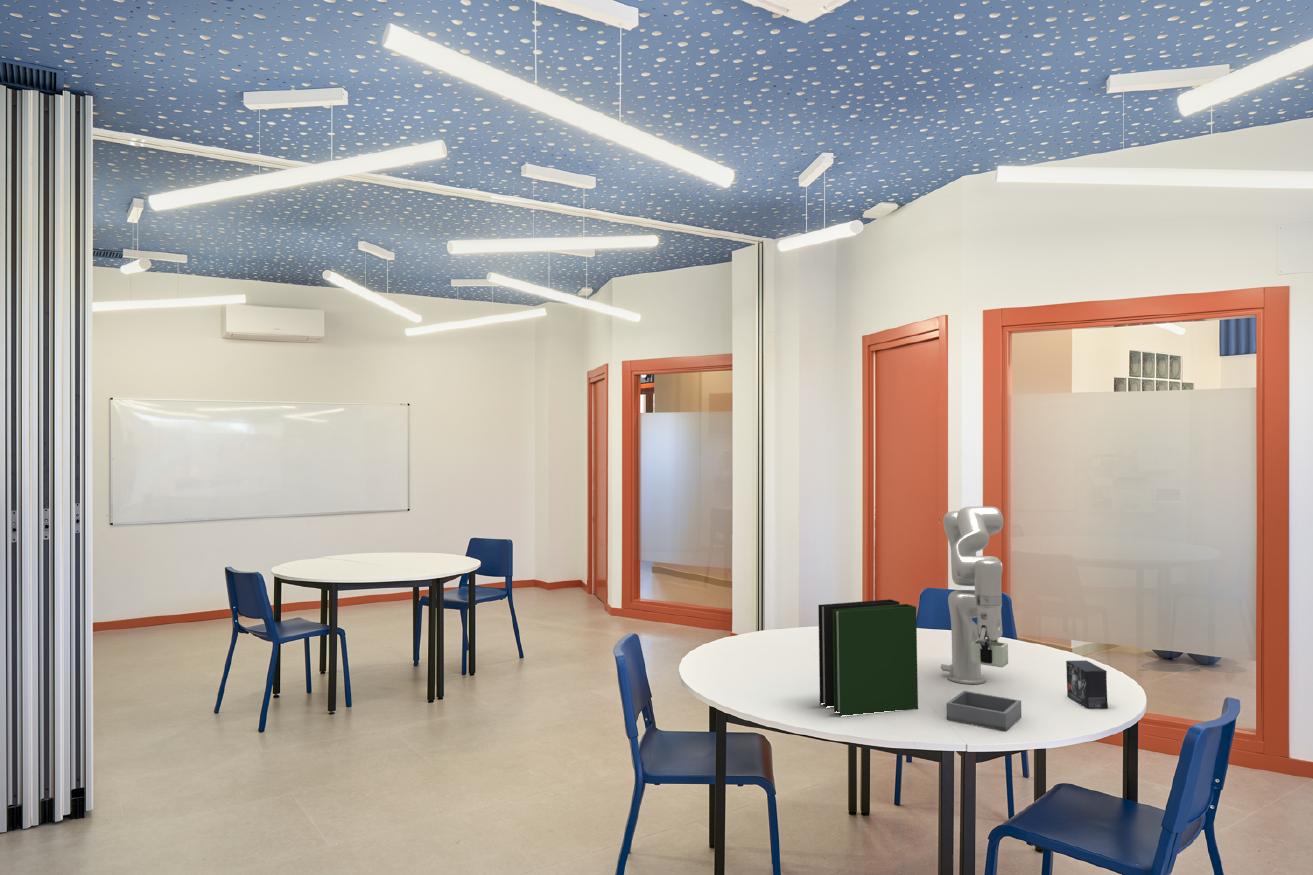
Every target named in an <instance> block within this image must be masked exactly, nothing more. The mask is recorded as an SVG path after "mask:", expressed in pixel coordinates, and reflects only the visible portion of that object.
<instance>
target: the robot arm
mask: <svg viewBox="0 0 1313 875" xmlns="http://www.w3.org/2000/svg"><path fill="white" fill-rule="evenodd" d="M942 520H943V529H944V532H945V535H946V537H947V540H948V542H949V547H950V563H951V564H950V566H951V578H952V582H953V584H955V585H958V586H961V587H974V589H957V590H953V591H951V592H950V593H949V594H948V598H947V603H948V610H949V614H950V615H949V616H950V625H951V627H950V628H951V663H952V664H948V665H947V664H944V663H941V665H940V670H942V671H943V672H948V674H947V679H949V681H952V682H954V683H958V684H963V685H964V684H966V685H980V684H983V683H986V681H987V678H986V676H984V675H982V665H981V664H974V663H972V662H971V643H972V642H974V641H975V640H980V659H981V662H983V663H990V664H991V663H992V650H991V641H992V642H999V640H998V639H1000V638H1001V637H1002V636H1003V622H1002V620H1003V619H1002V607H1003V603H1002V602H1003V600H1002V599H1003V598H1002V597H1003V596H1002V590H1003V589H1002V575H1003V572H1004V571H1003V570H1004V569H1003V563H1002V561H1001V560H1000V559H999V557H997V556H994V555H993V556H992V555H991V556H989V555H977V552H980V551H981V550H983V549H985V548H986V547H987V546H988V545H989V543H990V536H994V535H996V534H998V533H999V532H1001V530H1002V529H1003V528H1004V516H1003V513H1002V512H1001V510H1000V509H999V508H998V507H996V506H965V507H962V508H960V510H955V511H954V510H953V511H948V512H946V513H945V514H944V516H943V519H942ZM974 618H977V621H976V622H975V621H973V619H974ZM986 641H988V643H987V642H986Z"/></svg>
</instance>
